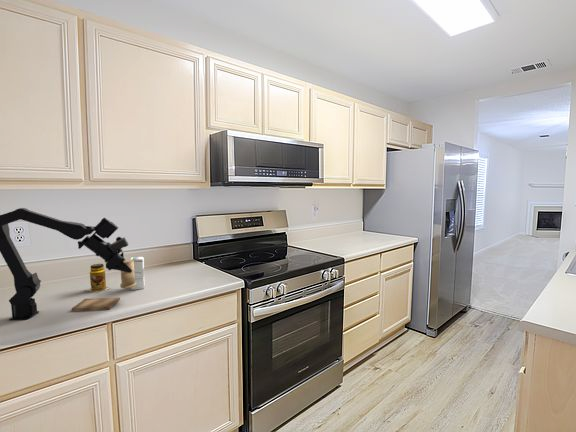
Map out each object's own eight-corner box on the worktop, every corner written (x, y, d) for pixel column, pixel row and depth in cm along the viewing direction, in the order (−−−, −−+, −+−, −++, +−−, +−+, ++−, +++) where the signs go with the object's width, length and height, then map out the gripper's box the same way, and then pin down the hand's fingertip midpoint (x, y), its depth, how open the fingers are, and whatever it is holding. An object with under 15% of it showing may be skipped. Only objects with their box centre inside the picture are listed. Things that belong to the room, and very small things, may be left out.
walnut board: (71, 311, 123) (71, 308, 123) (85, 301, 133) (84, 298, 133) (109, 309, 125) (109, 306, 125) (120, 300, 135) (120, 297, 135)
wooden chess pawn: (118, 288, 130) (116, 263, 129) (123, 283, 136) (122, 260, 135) (133, 287, 131) (132, 263, 130) (138, 283, 137) (137, 259, 136)
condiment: (95, 293, 143) (93, 267, 142) (84, 290, 147) (83, 265, 146) (110, 288, 150) (109, 263, 149) (100, 285, 154) (98, 261, 153)
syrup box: (131, 286, 152) (130, 257, 151) (145, 285, 154) (143, 256, 153) (130, 290, 147) (128, 259, 146) (144, 288, 149) (142, 258, 148)
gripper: (113, 235, 121) (146, 260, 127) (115, 228, 138) (144, 251, 144) (91, 257, 118) (125, 282, 124) (95, 248, 135) (125, 270, 141)
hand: (131, 270), depth 134 cm, fingers closed on wooden chess pawn, 5 cm apart
